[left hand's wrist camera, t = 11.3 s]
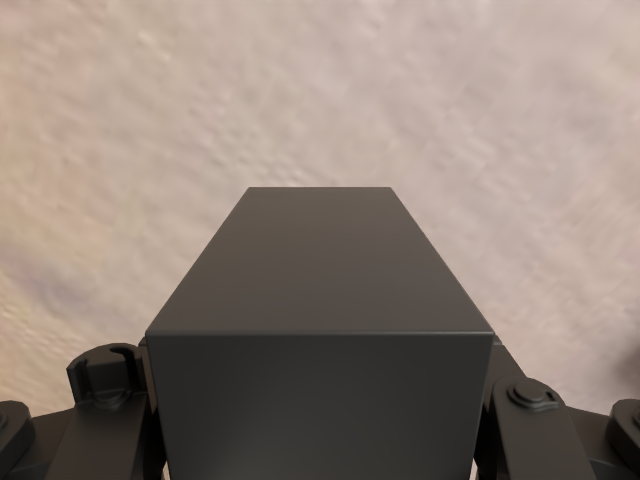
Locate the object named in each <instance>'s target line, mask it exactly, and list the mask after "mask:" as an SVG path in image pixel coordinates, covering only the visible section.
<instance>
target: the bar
mask: <svg viewBox="0 0 640 480" xmlns="http://www.w3.org/2000/svg"><path fill="white" fill-rule="evenodd" d="M494 337H495V333H494V330H493V329H492V328H491V326H490V325H489V323H488V322H487V321H486V319H485V318H484V316H483V315H482V314H481V312H480V311H479V309H478V308H477V307H476V305H475V304H474V303H473V301H472V300H471V298H470V297H469V296H468V294H467V293H466V291H465V290H464V289H463V287H462V286H461V284H460V283H459V282H458V280H457V279H456V277H455V276H454V275H453V273H452V272H451V271H450V269H449V268H448V266H447V265H446V264H445V262H444V261H443V259H442V258H441V257H440V255H439V254H438V252H437V251H436V250H435V248H434V247H433V245H432V244H431V243H430V241H429V240H428V238H427V237H426V236H425V234H424V233H423V232H422V230H421V229H420V227H419V226H418V225H417V223H416V222H415V220H414V219H413V218H412V216H411V215H410V213H409V212H408V211H407V209H406V208H405V206H404V205H403V204H402V202H401V201H400V199H399V198H398V197H397V195H396V194H395V193H394V191H393V190H392V188H390V187H249V188H248V189H247V191H246V192H245V193H244V195H243V196H242V198H241V199H240V200H239V202H238V203H237V204H236V206H235V207H234V209H233V210H232V211H231V213H230V214H229V216H228V217H227V218H226V220H225V221H224V223H223V224H222V225H221V227H220V228H219V230H218V231H217V232H216V234H215V235H214V237H213V238H212V239H211V241H210V242H209V244H208V245H207V246H206V248H205V249H204V251H203V252H202V253H201V255H200V256H199V257H198V259H197V260H196V262H195V263H194V264H193V266H192V267H191V269H190V270H189V271H188V273H187V274H186V276H185V277H184V278H183V280H182V281H181V283H180V284H179V285H178V287H177V288H176V290H175V291H174V292H173V294H172V295H171V297H170V298H169V299H168V301H167V302H166V304H165V305H164V306H163V308H162V309H161V310H160V312H159V313H158V315H157V316H156V317H155V319H154V320H153V322H152V323H151V324H150V326H149V327H148V329H147V330H146V332H145V339H146V345H147V351H148V356H149V362H150V368H151V373H152V379H153V385H154V390H155V396H156V402H157V407H158V413H159V419H160V424H161V430H162V436H163V441H164V447H165V453H166V458H167V464H168V470H169V475H170V480H469V479H470V474H471V468H472V462H473V457H474V451H475V445H476V440H477V434H478V428H479V422H480V417H481V411H482V405H483V400H484V394H485V388H486V383H487V377H488V371H489V366H490V360H491V354H492V349H493V343H494Z"/></svg>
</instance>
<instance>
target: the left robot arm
mask: <svg viewBox="0 0 640 480" xmlns="http://www.w3.org/2000/svg"><path fill="white" fill-rule="evenodd" d="M494 333H495V332H494ZM66 370H67V374H68V378H69V381H70V385H71V389H72V393H73V396H74V400H75V406H74V408H71V409H68V410H64V411H60V412H56V413H51V414H47V415H42V416H38V417H33V418H31V415H30V412H29V409H28V407H27V406H26V405H25V404H24V403H22V402H18V401H12V400H10V401H2V402H0V480H165V479H164V473H163V468H164V465H165V463H166V461H167V458H166V453H165V447H164V441H163V436H162V430H161V424H160V419H159V413H158V407H157V402H156V396H155V390H154V385H153V379H152V373H151V368H150V362H149V356H148V351H147V345H146V339H145V337H143V338H142V340H141V341H140V343H139V344H138V347H136V346H135V345H131V344H127V343H111V344H107V345H103V346H98V347H96V348H94V349H91V350H89V351H86V352H84V353H83V354H81V355H80V356H78V357H77V358H75V359H74V360H73V361H72V362H71V363H70V365H69V366H68V367H67V368H66ZM473 458H474V460H475V463H476V465H477V467H478V468H477V473H476V479H475V480H640V400H637V399H625V400H619V401H618V402H616V403H615V404H614V405H613V407H612V410H611V413H610V416H606V415H601V414H597V413H593V412H588V411H584V410H579V409H575V408H572V407H568V406H566V405H565V403H564V402H563V400H562V399H561V397H560V396H559V394H558V393H556V392H555V391H554V390H553V389H551V388H550V387H549V386H547V385H545V384H543V383H541V382H539V381H537V380H535V379H532V378H528V377H526V376H525V374H524V373H523V371H522V370H521V369H520V367H519V366H518V364H517V363H516V361H515V360H514V359H513V357H512V356H511V354H510V353H509V352H508V350H507V349H506V347H505V346H504V345H502V342H501V340H500V339H499V338H498V336H497V335H495V337H494V343H493V349H492V354H491V360H490V366H489V371H488V377H487V383H486V388H485V394H484V400H483V405H482V411H481V417H480V422H479V428H478V434H477V440H476V445H475V451H474V457H473Z"/></svg>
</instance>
